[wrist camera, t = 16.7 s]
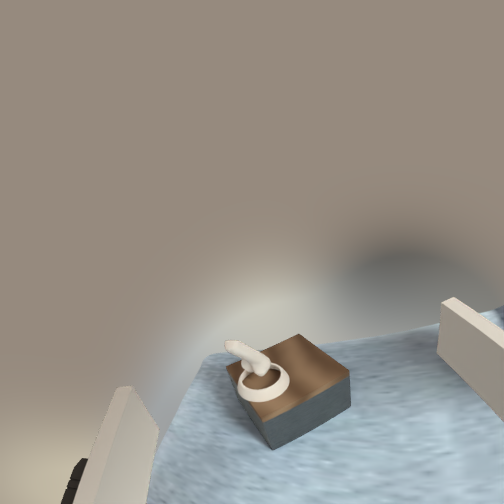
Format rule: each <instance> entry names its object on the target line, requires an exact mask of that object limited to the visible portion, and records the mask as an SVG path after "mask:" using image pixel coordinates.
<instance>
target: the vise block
mask: <svg viewBox="0 0 504 504" xmlns="http://www.w3.org/2000/svg"><path fill="white" fill-rule="evenodd" d="M261 353H262V354H264V355H265V356H267V357H268V358H269V359H270V361H271V363H275V364H277V365H279V366H280V367H282V368H283V369H284V370H285V371H286V373H287V374H288V375H289V381H290V382H289V386H288V387H287V389H286V390H285V391H284V392H283V393H282V394H281V395H280V396H278V397H276V398H274V399H272V400H269V401H265V402H252V401H248V400H245V399H244V398H242V397H241V396H240V395H239V393H238V389H237V386H238V381H239V378H240V376H241V374H242V373H243V371H244V370H245V369H243V367H242V365H241V361H242V360H240V361H238V362H235V363H233V364H231V365H228V366H226V368H227V371H228V374H229V376H230V379H231V382H232V385H233V387H234V390H235V392H236V395H237V398H238V400H239V401H240V403H241V405H242V406H243V408H244V409H245V411H246V412H247V414H248V415H249V417H250V418H251V420H252V421H253V423H254V424H255V426H256V427H257V429H258V430H259V432H260V433H261V434H262V436H263V437H264V439H265V440H266V442H267V443H268V444H269V446H270V447H271V449H272V450H275V449H277V448H279V447H281V446H283V445H285V444H287V443H289V442H291V441H293V440H295V439H296V438H298V437H300V436H302V435H304V434H306V433H307V432H309V431H311V430H313V429H315V428H316V427H318V426H320V425H321V424H323V423H325V422H327V421H328V420H330V419H331V418H333V417H335V416H336V415H338V414H340V413H341V412H343V411H344V410H346V409H347V408H349V407H350V406H351V396H350V376H349V370H348V369H347V368H345V367H344V366H342V365H341V364H340V363H338V362H337V361H335V360H334V359H333V358H331V357H330V356H329V355H327V354H326V353H324V352H323V351H322V350H320V349H319V348H318V347H316V346H315V345H313V344H312V343H311V342H309V341H308V340H306V339H305V338H304V337H303V336H301V335H300V334H298V335H295V336H293V337H291V338H289V339H287V340H285V341H283V342H281V343H278V344H276V345H274V346H272V347H270V348H267V349H265V350H263V351H261ZM280 376H281V372H280V371H279V370H276V369H269V370H268V371H267V373H266V374H265V375H264V376H258V375H257V374H255V373H254V372H253V373H251V374H249V375H248V376H247V377H246V378H244V380H243V381H242V383H243V385H244V386H245V387H247V388H249V389H255V390H259V389H264V388H268V387H270V386H272V385H273V384H275V383H276V382H277V381H278V380H279V378H280Z"/></svg>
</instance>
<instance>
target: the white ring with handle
mask: <svg viewBox="0 0 504 504" xmlns="http://www.w3.org/2000/svg"><path fill="white" fill-rule="evenodd" d="M225 349H226V350H227V352H229V353H231V354H233V355H235V356H237V357H239V358H241V359H242V361H241V365H242V367H243V369H245V370H244V371H243V373H242V374H241V376H240V378H239V381H238V386H237V389H238V393H239V395H240V396H241V397H242V398H244V399H245V400H248V401H252V402H265V401H269V400H272V399H274V398H276V397H278V396H280V395H281V394H282V393H283V392H284V391H285V390H286V389H287V387H288V386H289V382H290V381H289V375H288V374H287V373H286V371H285V370H284V369H283V368H282V367H280V366H279V365H277V364H275V363H271V361H270V359H269V358H268V357H267V356H265V355H264V354H262V353H261V352H259V351H257V350H255V349H253V348H251V347H249V346H247V345H246V344H244V343H242V342H240V341H237V340H228V341H225ZM269 369H276V370H279V371H280V372H281V376H280V378H279V380H278V381H277V382H276V383H275V384H273V385H272V386H270V387H268V388H264V389H259V390H255V389H249V388H247V387H245V386H244V385H243V383H242V381H243V380H244V378H246V377H247V376H248V375H249V374H251V373H253V372H254V373H255V374H257V375H258V376H264V375H265V374H266V373H267V371H268V370H269Z"/></svg>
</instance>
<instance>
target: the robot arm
mask: <svg viewBox="0 0 504 504" xmlns="http://www.w3.org/2000/svg"><path fill="white" fill-rule="evenodd" d="M437 354H438V355H439V356H440V357H441V358H442V359H443V360H444V361H445V362H446V363H447V364H448V365H449V366H450V367H451V368H452V369H453V370H454V371H455V372H456V373H457V374H458V375H459V376H460V377H461V378H462V379H463V380H464V381H465V382H466V383H467V384H468V385H469V386H470V387H471V388H472V389H473V390H474V391H475V392H476V393H477V394H478V395H479V396H480V397H481V398H482V399H483V400H484V401H485V402H486V403H487V405H488V406H489V407H490V408H491V409H492V410H493V411H494V412H495V413H496V414H497V415H498V416H499V417H500V418H501V420H502V421H503V422H504V331H503V330H502V329H500V328H499V327H498V326H496V325H495V324H493V323H492V322H490V321H489V320H488V319H486V318H485V317H483V316H482V315H480V314H479V313H477V312H476V311H474V310H473V309H471V308H470V307H468V306H467V305H465V304H464V303H462V302H461V301H459V300H458V299H456V298H454V297H453V298H451V299H448V300H446V301H444V302H442V303H441V317H440V327H439V337H438V346H437ZM159 430H160V429H159V428H158V426H157V424H156V423H155V421H154V420H153V418H152V417H151V415H150V414H149V412H148V410H147V409H146V407H145V406H144V404H143V402H142V401H141V399H140V397H139V396H138V394H137V392H136V390H135V389H134V387H133V386H125V387H117V389H116V391H115V393H114V396H113V398H112V401H111V403H110V406H109V408H108V410H107V413H106V415H105V417H104V420H103V422H102V425H101V427H100V430H99V432H98V435H97V437H96V440H95V442H94V445H93V448H92V450H91V453H90V456H89V458H88V459H86V458H82V459H81V460H80V461H79V462H78V463H77V465H76V466H75V467H74V469H73V472H72V474H71V477H70V479H71V480H69V482H68V485H67V489H66V491H65V493H64V496H63V499H62V502H61V504H146V501H147V494H148V488H149V483H150V477H151V471H152V466H153V461H154V455H155V450H156V445H157V439H158V435H159Z"/></svg>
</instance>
